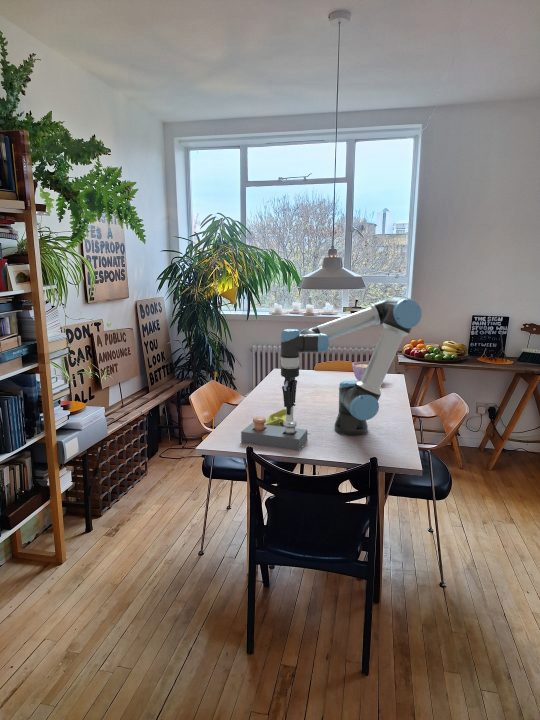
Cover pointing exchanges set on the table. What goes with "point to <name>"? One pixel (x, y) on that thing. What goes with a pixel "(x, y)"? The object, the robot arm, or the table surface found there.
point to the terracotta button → (259, 423)
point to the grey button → (289, 427)
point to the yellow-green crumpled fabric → (276, 418)
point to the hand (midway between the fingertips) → (289, 421)
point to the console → (274, 437)
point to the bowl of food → (359, 369)
